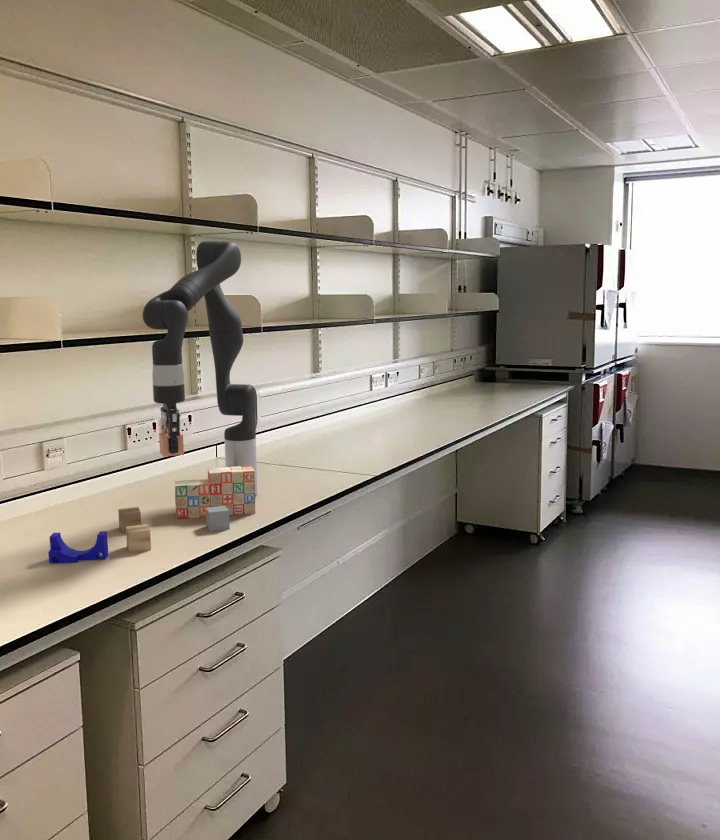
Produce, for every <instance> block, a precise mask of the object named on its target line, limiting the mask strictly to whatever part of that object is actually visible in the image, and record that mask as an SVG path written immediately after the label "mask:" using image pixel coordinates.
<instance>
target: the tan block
mask: <svg viewBox="0 0 720 840" xmlns="http://www.w3.org/2000/svg"><path fill="white" fill-rule="evenodd" d="M117 512H118V529H119V531H120V533H121V534H122V533H126V527H128V526H137V525H142V513H141V509H140V508H139V506H137V507H125V508H118V511H117Z"/></svg>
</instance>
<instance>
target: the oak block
mask: <svg viewBox="0 0 720 840" xmlns="http://www.w3.org/2000/svg"><path fill="white" fill-rule="evenodd" d="M125 533H126V534H125V535H126V548H127V549H128V550H127V551H128V553H131V554H132V553H138V552H139V553H140V552H147V551H151V550H152V544H151V543H152V542H151V541H152V540H151V529H150V527H149V524H148V523H147V524H141V525H137V526H128V527H126V532H125Z"/></svg>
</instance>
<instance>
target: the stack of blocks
mask: <svg viewBox="0 0 720 840" xmlns="http://www.w3.org/2000/svg"><path fill="white" fill-rule="evenodd" d="M174 491H175V492H174V499H175V514H176V515H175V516H176V517H175V518H176V519H177V520H178V519H196V518H197V519H198V518H206V508H208V507H217V506H225V507H226V508H227V509H228V510H229V516H238V514H242V515H252V514H253V513H255V514H256V495H255V481H254V469H253V467H252V466H251V467H241V466H237V467H226V466H225V467H214V468H213V467H210V468H207V478H205V479H203V478H202V479H190V480H189V479H188V480H175V481H174ZM253 515H254V514H253Z"/></svg>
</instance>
